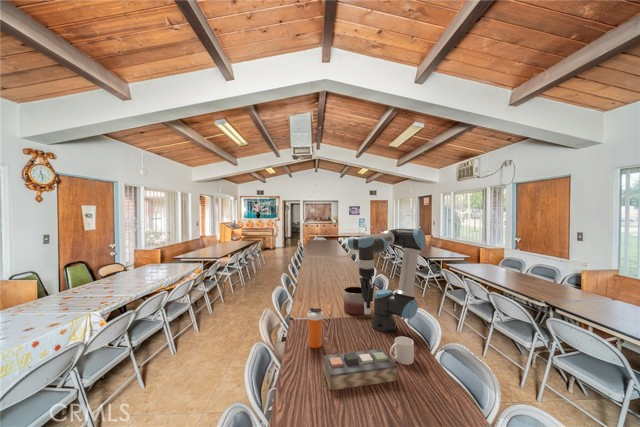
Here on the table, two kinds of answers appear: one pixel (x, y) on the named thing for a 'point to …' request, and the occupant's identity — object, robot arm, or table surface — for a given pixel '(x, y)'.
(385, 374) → the console
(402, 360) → the mug
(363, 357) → the key ivory
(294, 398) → the table surface
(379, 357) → the key sage
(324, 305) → the table surface
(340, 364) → the key terracotta
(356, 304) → the planter
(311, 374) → the table surface
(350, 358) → the key dark gray
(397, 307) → the robot arm
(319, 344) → the shaker bottle
